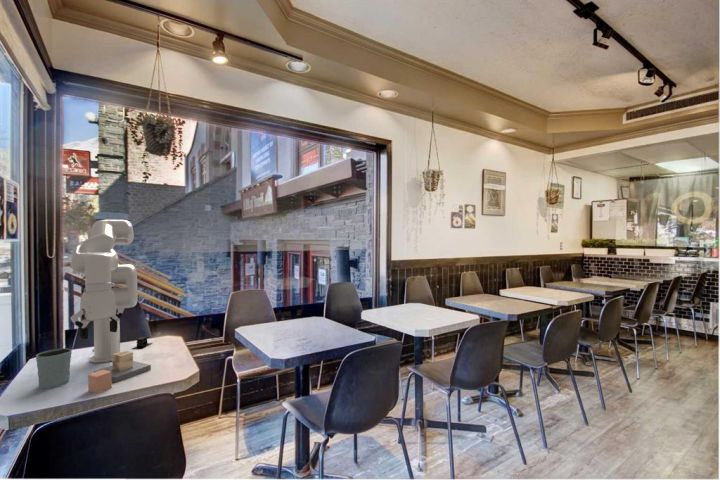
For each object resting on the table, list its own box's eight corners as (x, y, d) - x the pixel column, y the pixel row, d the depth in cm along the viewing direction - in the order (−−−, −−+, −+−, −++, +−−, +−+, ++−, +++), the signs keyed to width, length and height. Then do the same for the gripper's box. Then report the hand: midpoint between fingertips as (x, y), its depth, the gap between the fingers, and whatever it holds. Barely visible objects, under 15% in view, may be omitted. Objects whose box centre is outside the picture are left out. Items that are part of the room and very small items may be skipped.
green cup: (30, 391, 127) (29, 358, 127) (46, 380, 136) (45, 349, 136) (63, 387, 130) (63, 355, 129) (77, 377, 139) (76, 346, 139)
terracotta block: (88, 391, 127) (88, 374, 127) (103, 385, 131) (102, 369, 131) (96, 393, 125) (96, 376, 125) (111, 387, 129) (111, 371, 129)
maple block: (112, 369, 142) (112, 354, 142) (125, 365, 146) (125, 350, 146) (120, 371, 140) (120, 356, 140) (133, 366, 144) (132, 352, 144)
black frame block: (141, 351, 172) (141, 341, 172) (126, 351, 172) (126, 342, 172) (155, 343, 184) (155, 334, 184) (141, 343, 184) (141, 334, 184)
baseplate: (93, 376, 140) (93, 371, 140) (129, 364, 152) (129, 360, 152) (115, 382, 134) (115, 377, 134) (150, 369, 147) (150, 364, 147)
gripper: (116, 284, 137) (117, 328, 137) (64, 290, 121) (65, 340, 121) (129, 285, 134) (130, 330, 134) (77, 291, 118) (78, 342, 118)
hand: (99, 335), depth 128 cm, fingers open, 9 cm apart
